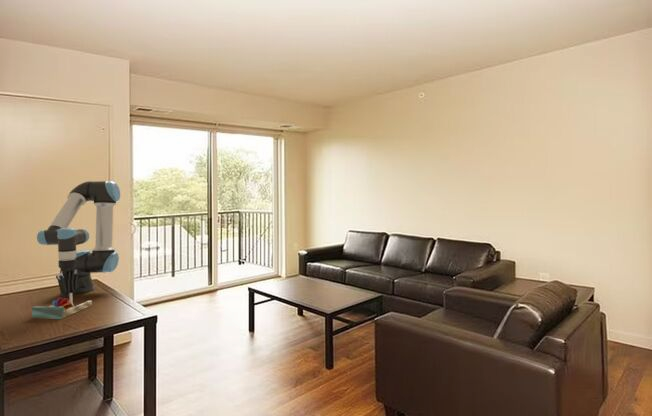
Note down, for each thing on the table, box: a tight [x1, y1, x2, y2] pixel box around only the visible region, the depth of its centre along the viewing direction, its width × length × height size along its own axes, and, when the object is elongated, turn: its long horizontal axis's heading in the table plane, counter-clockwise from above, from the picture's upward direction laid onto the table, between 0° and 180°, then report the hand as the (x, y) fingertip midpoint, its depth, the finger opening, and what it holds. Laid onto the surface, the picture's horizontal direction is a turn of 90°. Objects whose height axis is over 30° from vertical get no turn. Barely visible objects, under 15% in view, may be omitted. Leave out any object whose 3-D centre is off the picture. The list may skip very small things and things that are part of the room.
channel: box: [31, 300, 93, 320], centre depth 189 cm, size 21×14×5 cm
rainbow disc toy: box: [50, 297, 75, 311], centre depth 187 cm, size 8×10×7 cm
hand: (69, 305), depth 192 cm, fingers closed
